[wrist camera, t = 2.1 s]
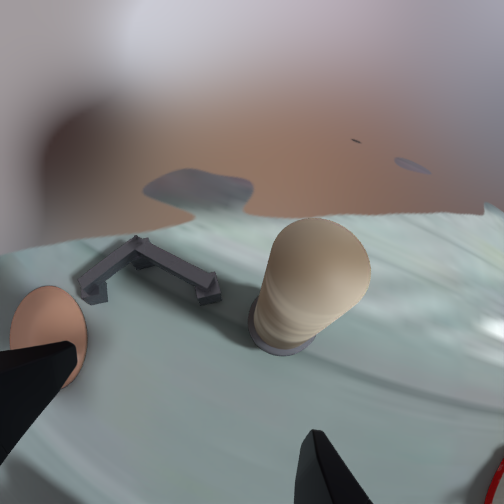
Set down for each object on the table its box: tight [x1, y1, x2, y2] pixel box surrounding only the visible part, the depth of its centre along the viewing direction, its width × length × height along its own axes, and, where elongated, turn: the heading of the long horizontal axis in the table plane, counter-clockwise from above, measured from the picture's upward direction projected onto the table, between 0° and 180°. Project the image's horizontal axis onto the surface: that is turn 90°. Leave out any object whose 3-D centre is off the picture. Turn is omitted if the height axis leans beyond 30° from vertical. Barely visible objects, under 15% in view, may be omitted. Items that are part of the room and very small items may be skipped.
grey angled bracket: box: [78, 235, 222, 306], centre depth 23 cm, size 7×13×3 cm, turn 107°
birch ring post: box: [248, 218, 371, 356], centre depth 18 cm, size 6×6×13 cm
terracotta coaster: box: [10, 286, 87, 389], centre depth 20 cm, size 11×11×1 cm
